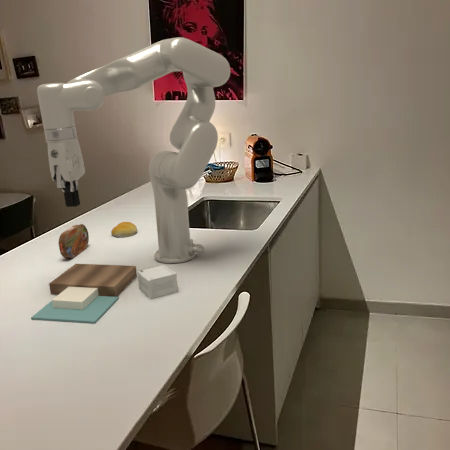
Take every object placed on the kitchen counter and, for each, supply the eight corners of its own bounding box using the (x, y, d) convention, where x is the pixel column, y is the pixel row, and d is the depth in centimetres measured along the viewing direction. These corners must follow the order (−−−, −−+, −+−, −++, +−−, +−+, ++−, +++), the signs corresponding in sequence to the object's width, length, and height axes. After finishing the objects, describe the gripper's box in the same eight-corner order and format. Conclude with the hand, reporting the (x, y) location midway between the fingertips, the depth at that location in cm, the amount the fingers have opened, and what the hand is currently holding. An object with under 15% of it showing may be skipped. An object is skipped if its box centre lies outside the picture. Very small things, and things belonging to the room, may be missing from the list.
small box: (178, 292, 130) (177, 273, 129) (149, 300, 127) (147, 280, 125) (166, 282, 137) (164, 264, 135) (138, 289, 133) (136, 271, 132)
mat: (118, 298, 128) (118, 296, 128) (95, 323, 116) (94, 321, 115) (60, 295, 131) (60, 293, 131) (31, 319, 119) (31, 317, 119)
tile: (98, 295, 129) (97, 288, 128) (83, 309, 122) (82, 302, 121) (69, 293, 131) (68, 286, 130) (52, 307, 123) (51, 300, 123)
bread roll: (108, 238, 176) (106, 227, 175) (119, 230, 185) (118, 219, 183) (130, 238, 174) (129, 227, 173) (140, 230, 183) (139, 220, 181)
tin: (68, 262, 155) (64, 235, 152) (59, 261, 156) (55, 235, 153) (90, 245, 169) (87, 221, 167) (82, 245, 170) (78, 220, 167)
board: (136, 276, 141) (135, 265, 141) (115, 297, 128) (114, 286, 127) (77, 273, 145) (75, 263, 144) (50, 294, 132) (49, 283, 131)
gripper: (60, 138, 120) (74, 214, 126) (87, 129, 134) (98, 197, 139) (31, 140, 121) (45, 214, 127) (60, 131, 135) (72, 198, 141)
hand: (73, 205), depth 133 cm, fingers closed
